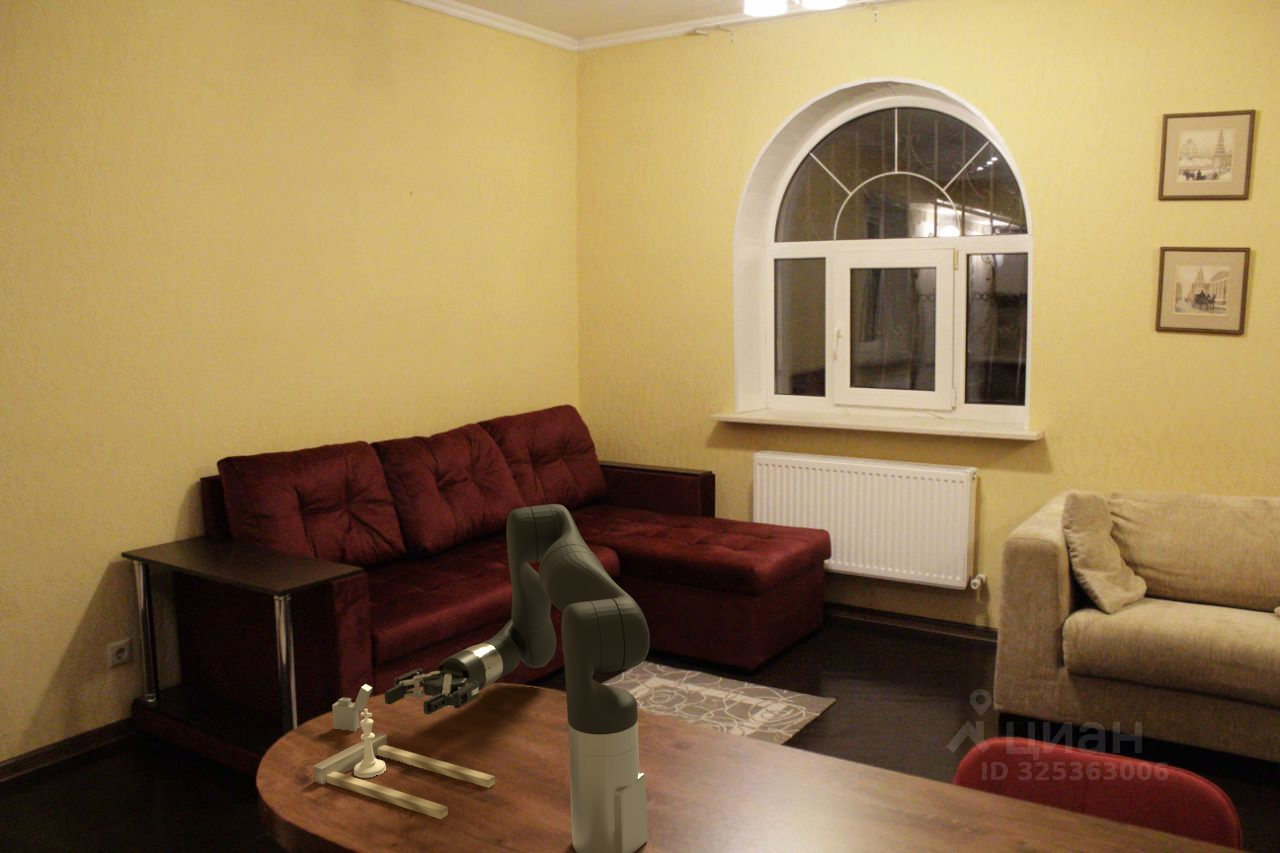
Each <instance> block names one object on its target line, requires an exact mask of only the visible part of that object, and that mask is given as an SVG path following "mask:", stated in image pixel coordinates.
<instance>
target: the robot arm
mask: <svg viewBox="0 0 1280 853" xmlns="http://www.w3.org/2000/svg"><path fill="white" fill-rule="evenodd" d="M507 516H508V517H507V521H506V530H505V531H506V544H507V545H506V548H507V558H508V567H509V574H510V576H509V577H510V579H511V580H510V583H511V589H512V590H511V591H512V599H511V614H510V616H511V619H510V620H509V621H508V622H507V623H506V624H505V625H504V626H503V627H502V628H501V630H499V632H497V634H495V635H494V636H493V637H491V638H490V639H488V640H486V641H484V642H481V643H479V644H475V645H472V646H469V647H467V648H466V649H464V650H461V651H458V652H457V653H455V654H452V655H450V656H449V657H446V658H445V659H443V660H442V661H441V662H440V664H439V666H438V667H437V669H436V670H435V671H431V672H429V673H427V674H426V673H423V668H416V669H414V670H411V671H409V672H406V673H403V674H402V675H400V676H397V677H395V678H394V679H393V680H394V687H391V688H390V689H388V690H387V689H386V690H385V692H384V703H385V704H386V705H390V706H391V705H392V704H394V703H396V702H398V701H400V700H402V699H404V698H407V697H412V696H414V697H415V698H423V697H430V696H432V697H430V698H428V699H425V700H424V702H423V706H422V707H423V714H425V715H428V716H429V715H432V713H435V712H437V711H439V710H440V709H442V708H443V709H446V708H447V709H448V708H451V706H453V709H456V710H457V709H460V708H462V707H464V706H466V705H467V704H469V703H471V702H472V701H474V700H475V699H477V698H479V697H480V694H479V691H483V689H485V688H487V687H489V686H490V685H492V684H494V683H495V682H496V681H497V680H498V679H501V678H503V677H505V676H506V675H508V674H510V673H512V672H513V671H514V670H516V669H517V667H518V666H519V664H520V662H523V663H524V664H525V665H526V666H528V667H530V668H534V669H539V668H543V667H544V666H546V665H548V663H550V661H551V660H552V659H553V657H554V655H555V652H556V648H557V636H556V631H555V629H554V625H553V622H552V618H551V609H552V605H553V606H554V607H555V608H556V609H557V610H559V611H560V612H562V617H561V628H560V629H561V643H562V644H561V645H562V654H563V655H562V656H563V664H564V674H565V675H564V677H565V694H566V707H567V708H566V709H567V731H568V732H567V733H568V734H567V735H568V760H569V761H568V764H569V765H568V766H569V785H570V786H569V788H570V789H569V791H570V814H571V815H570V816H571V837H572V838H571V842H572V844H571V845H572V848H573V849H574V850H575V852H576V853H635V852H637V851H638V850H639V849H640V848H641V847H642V846H643V845H644V844H645V843H647V842H648V809H647V808H648V807H647V806H648V804H647V803H648V802H647V775H646V774H645V772H640V756H639V755H640V754H639V752H640V751H639V712H638V711H639V710H638V702H637V699H636V696H634V695H633V694H632V693H631V692H630V691H627V690H625V689H624V688H619V687H616V686H612V685H608V684H604V683H601V682H598V681H596V680H595V679H593V676H594V674H600V673H608V672H615V671H617V672H618V671H622V670H628V669H632V668H635V667H637V666H639V665H641V664H642V663H643V662H644V661H645V660H646V658H647V655H648V654H649V649H650V643H651V638H650V631H649V630H650V629H649V626H648V623H647V620H646V617H645V614H644V613H643V611H642V609H641V607H640V606H639V605H638V603H637V602H636V601H635V599H634V598H633V597H632V596H631V595H630V594H628V593H627V592H626V591H625V590H624V589H622V588H621V587H620V586H619V585H618V584H617V582H615V581H614V580H613V579H612V577H611V576H610V575H609V574H608V572H607V571H606V570H605V568H604V566H603V564H602V563H601V561H600V560H599V558H598V557H597V556H596V554H595V553H594V552H593V550H591V549H590V548H589V546H588V545H587V543H586V542H585V540H584V538H583V536H581V533H580V531H579V529H578V527H577V524H576V523H575V521H574V519H573V518H574V517H572V514H571V513H570V511H569V510H568V509H567V508H566V507H565V506H564V505H562V504H557V503H551V504H550V503H549V504H541V505H533V506H526V507H519V508H516V509H513V510H511V511H510V512H509V514H508V515H507ZM536 562H540V564H539V567H538V572H537V571H536V570H535V569H534V568H533V567H532V566H531V565H530V564H529V563H536ZM420 685H422V689H423V690H422V691H421V690H420ZM411 689H412V690H411Z"/></svg>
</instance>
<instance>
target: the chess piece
mask: <svg viewBox="0 0 1280 853" xmlns="http://www.w3.org/2000/svg"><path fill="white" fill-rule="evenodd" d="M359 715H360V717H364V718H363V719H361V720H360V721H359V724H360V727H361V729H362V732H363V733H362V734H361V735H360V739H361V741H363V740H365V747H364V759H363V760H362V762H360V763H358V764H357V765H355V767H354V768H353V775H354V776H356V778H357V777H358V778H360V779H369V778H375V777H377V776H376V775H378V776H380V775H383V773H385V772H386V770H387V765H386V763H385V761H384V760H381V759H377V758H376V756H375V757H374V753H373V748H372V742H371V739H372V738H374V737H375V733H374V732H372V730H373V725H374V720H373V719H372V718H371V717H372V716H373V713H372V712H369V709H368V708H363V712H362V711H361V713H360V714H359ZM384 771H385V772H384ZM374 776H375V777H374Z"/></svg>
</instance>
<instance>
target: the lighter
mask: <svg viewBox="0 0 1280 853" xmlns="http://www.w3.org/2000/svg"><path fill="white" fill-rule="evenodd" d="M372 691H373V687H372V686H371V685H368V684H367V683H365V684H364V685H363V686H360V689H359V692H358V694H357V697H356V699H355V702H352V698H350V697H341V698H338V700H337V701H336V702H335V703H333V704H332V708H331V709H332V720H333V730H334V729H342V730H341V731H343V730H349V731H348V732H353V731H354V732H356V731H357V729H358V728H359V729H360V727H361V725H360V714H359V712H362V710H364V709H366V706H367V703H368V701H369V698H370V695H371V694H372ZM359 729H358V730H359Z"/></svg>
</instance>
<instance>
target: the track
mask: <svg viewBox="0 0 1280 853" xmlns="http://www.w3.org/2000/svg"><path fill="white" fill-rule="evenodd" d="M374 735H375V737H374V738H372V739H371V742H372V748H373V753H374V757H375V758H376V757H377V756H378V755H379V757H381V756H382V757H381V758H385V757H386V758H385V759H388V758H390V759H389V760H392V759H393V761H395V760H396V761H395V762H398V761H400V762H399V763H402V762H403V764H405V763H406V765H409V766H412V765H413V767H416V768H418V769H419V768H420V769H422V768H423V770H426V771H430V772H432V773H437V774H440V775H443V776H448V777H450V778H454V779H457V780H461V781H463V782H467V783H469V784H470V783H471V784H474V785H478V786H481V787H484V788H488V789H490V788H491V787H492V786H494V785H496V775H492V774H488V773H484V772H481V771H479V770H478V771H477V770H475V769H470V768H468V767H464V766H461V765H458V764H457V765H456V764H453V763H449V762H447V761H443V760H440V759H439V760H438V759H436V758H432V757H428V756H425V755H421V754H418V753H415V752H411V751H409V750H408V751H407V750H405V749H400V748H397V747H393V746H390V745H388V735H387V734H384V733H380V732H377V733H374ZM364 747H365V740H361V741H359V742H357V743H356V744H354V745H351V746H350V747H348V748H346V749H344V750H342V751H339V752H337V753H336V754H334V755H332V756H330V757H328V758H326V759H324V760H321V761H320V762H318V763H316V764H315V765H312V773H313V783H316V782H317V784H319V785H325V784H326V783H327V784H330V785H334V786H336V787H339V788H343V789H345V790H348V791H352V792H355V793H357V794H361V795H364V796H368V797H370V798H374V799H376V800H379V801H382V802H386V803H389V804H391V805H395V806H398V807H402V808H404V809H408V810H411V811H414V812H417V813H420V814H423V815H427V816H428V817H429V816H430V817H432V818H436V819H439V820H442V819H444V818H445V817H447V816H449V808H448V807H449V806H447V805H443V804H440V803H437V802H434V801H430V800H427V799H425V798H421V797H418V796H415V795H412V794H408V793H405V792H402V791H398V790H396V789H393V788H389V787H387V786H383V785H379V784H376V783H374V782H369V781H368V780H364V779H362V778H359V777H358V778H357V777H354V776H351V775H348V774H346V773H348V772H349V771H351V770H354V767H355V765H357V764H358V763H360V762H362V760H363V759H364ZM347 771H348V772H347Z"/></svg>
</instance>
